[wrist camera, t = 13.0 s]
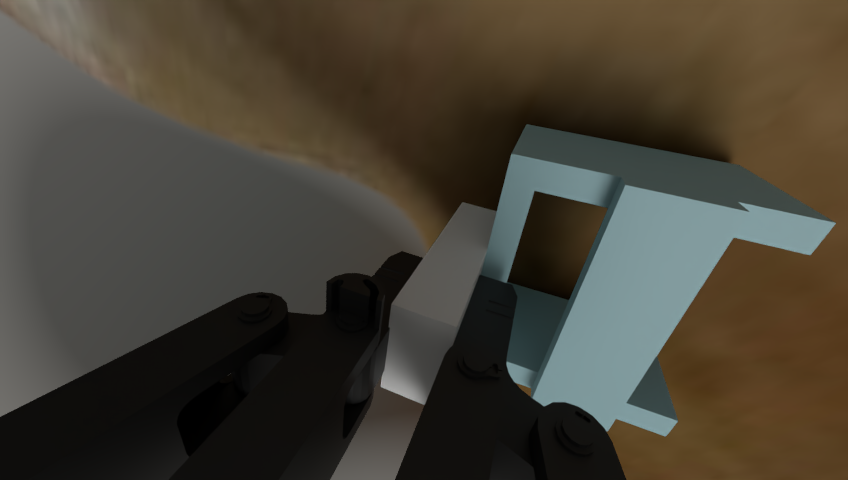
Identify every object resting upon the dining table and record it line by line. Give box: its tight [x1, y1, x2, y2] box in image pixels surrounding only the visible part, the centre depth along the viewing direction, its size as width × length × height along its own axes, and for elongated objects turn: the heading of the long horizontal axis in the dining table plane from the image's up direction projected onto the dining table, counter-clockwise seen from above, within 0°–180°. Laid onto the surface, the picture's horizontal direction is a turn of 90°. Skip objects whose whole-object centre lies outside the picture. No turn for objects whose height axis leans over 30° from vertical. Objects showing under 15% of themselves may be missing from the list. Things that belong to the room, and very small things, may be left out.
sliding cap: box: [481, 124, 836, 436], centre depth 12 cm, size 7×8×5 cm
